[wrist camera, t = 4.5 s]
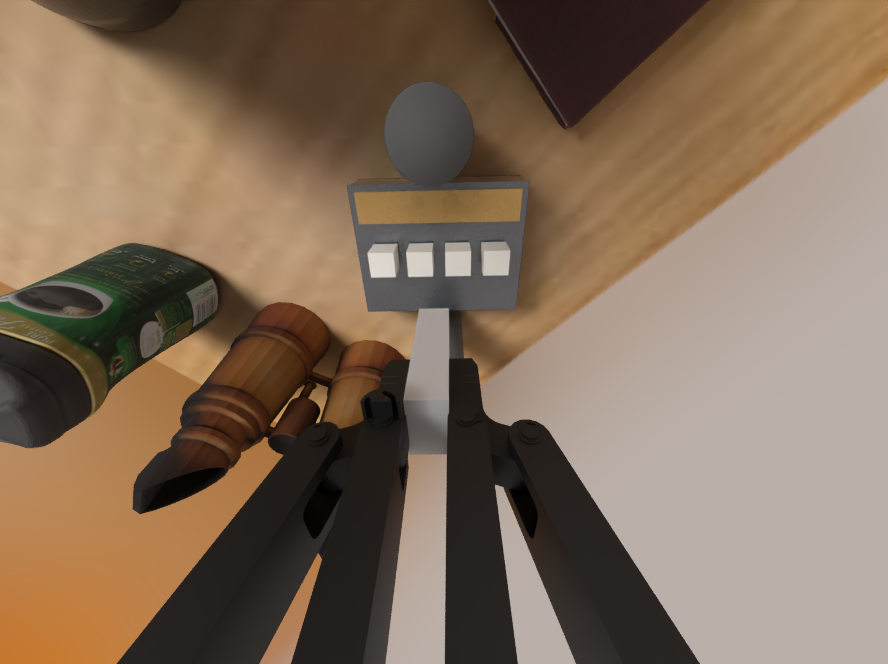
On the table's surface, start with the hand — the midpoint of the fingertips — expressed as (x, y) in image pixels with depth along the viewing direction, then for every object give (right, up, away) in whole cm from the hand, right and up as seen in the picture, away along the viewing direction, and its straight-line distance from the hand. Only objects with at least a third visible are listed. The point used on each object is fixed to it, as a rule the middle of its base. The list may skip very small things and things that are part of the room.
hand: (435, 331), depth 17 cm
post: (0, +16, +10) cm, 19 cm away
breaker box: (0, +9, +14) cm, 17 cm away
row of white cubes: (0, +7, +11) cm, 13 cm away
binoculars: (-13, -2, +21) cm, 25 cm away
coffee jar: (-28, +5, +17) cm, 33 cm away
